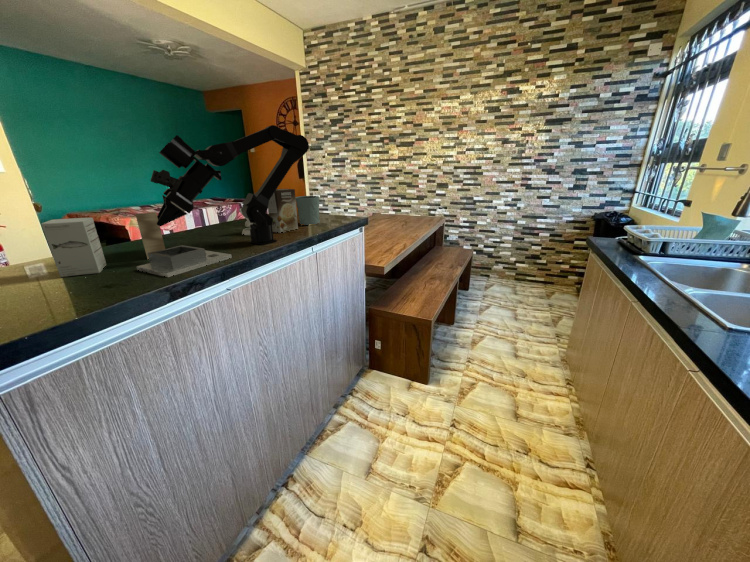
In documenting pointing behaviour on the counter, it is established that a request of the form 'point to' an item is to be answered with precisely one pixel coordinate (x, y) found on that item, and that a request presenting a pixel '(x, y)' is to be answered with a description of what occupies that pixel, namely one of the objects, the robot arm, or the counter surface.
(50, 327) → the counter surface
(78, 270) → the supplement box
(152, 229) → the square peg
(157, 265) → the socket plate
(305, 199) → the grey tapered cup
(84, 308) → the counter surface
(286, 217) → the coffee box
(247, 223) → the hook
